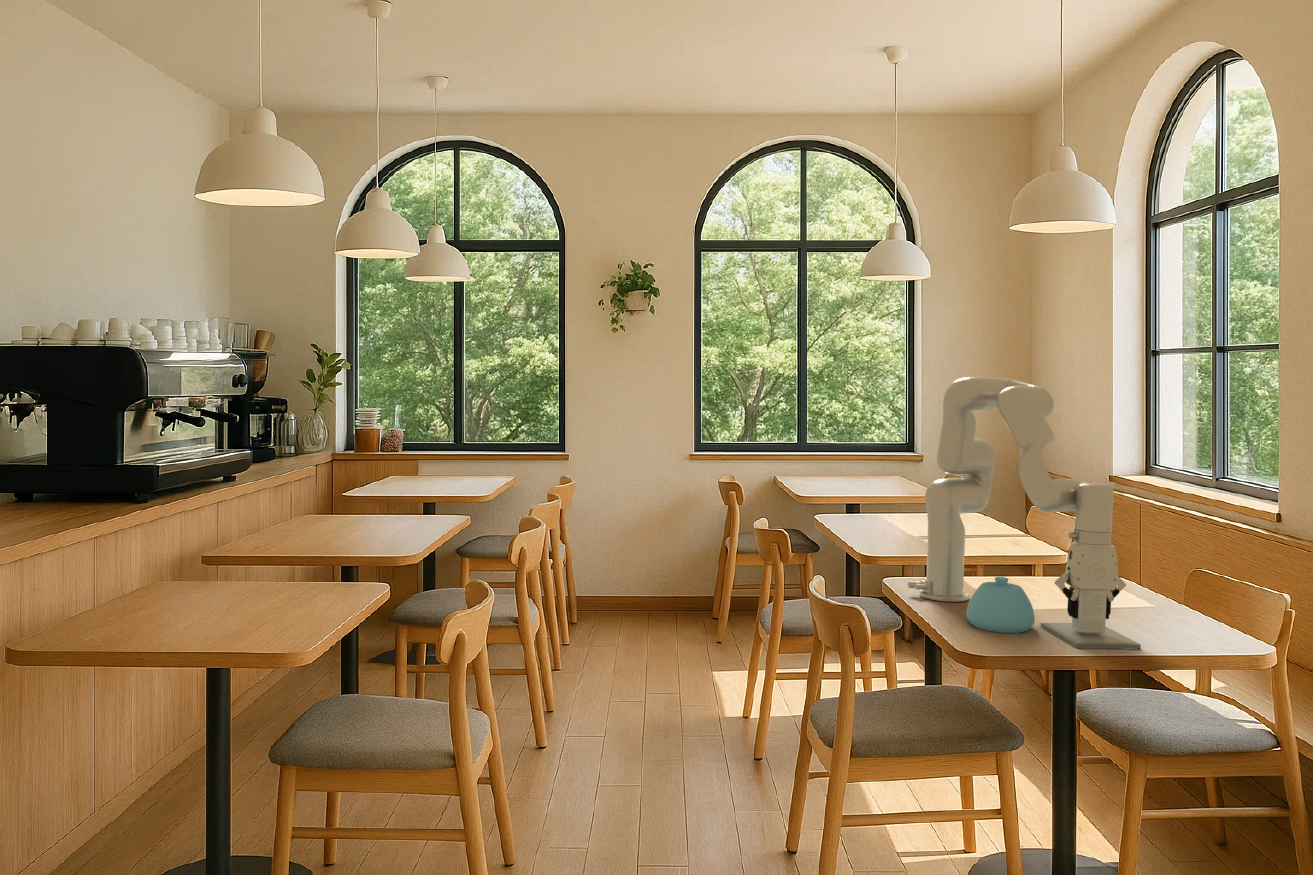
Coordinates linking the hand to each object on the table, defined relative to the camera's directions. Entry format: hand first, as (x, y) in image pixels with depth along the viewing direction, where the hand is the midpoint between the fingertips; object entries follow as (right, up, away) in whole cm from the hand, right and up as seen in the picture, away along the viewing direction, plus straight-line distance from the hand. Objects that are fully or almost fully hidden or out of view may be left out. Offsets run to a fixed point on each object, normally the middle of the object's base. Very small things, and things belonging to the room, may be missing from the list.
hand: (1088, 616), depth 211 cm
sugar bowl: (-17, -4, +9) cm, 19 cm away
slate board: (0, -5, 0) cm, 5 cm away
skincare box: (0, -3, 0) cm, 3 cm away
